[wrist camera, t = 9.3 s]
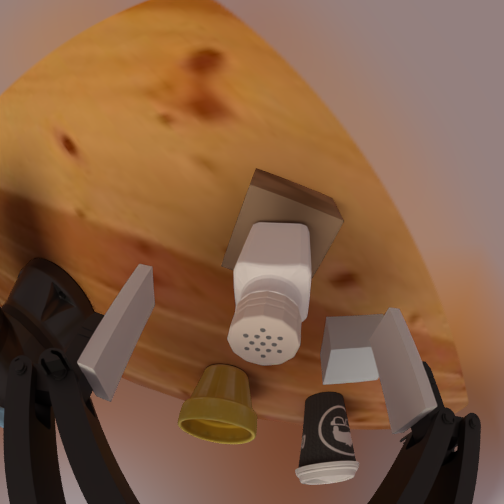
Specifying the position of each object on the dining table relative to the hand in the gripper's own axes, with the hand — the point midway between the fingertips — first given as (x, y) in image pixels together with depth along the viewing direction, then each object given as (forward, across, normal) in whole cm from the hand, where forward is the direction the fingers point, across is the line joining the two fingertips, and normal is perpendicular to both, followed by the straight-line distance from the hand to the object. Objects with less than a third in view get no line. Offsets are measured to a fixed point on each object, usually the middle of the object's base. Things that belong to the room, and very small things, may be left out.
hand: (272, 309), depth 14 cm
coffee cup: (+12, +16, -30) cm, 36 cm away
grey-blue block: (+12, +13, -13) cm, 21 cm away
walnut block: (+12, +1, 0) cm, 12 cm away
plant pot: (+12, -1, -26) cm, 29 cm away
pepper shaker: (+7, 0, 0) cm, 7 cm away
